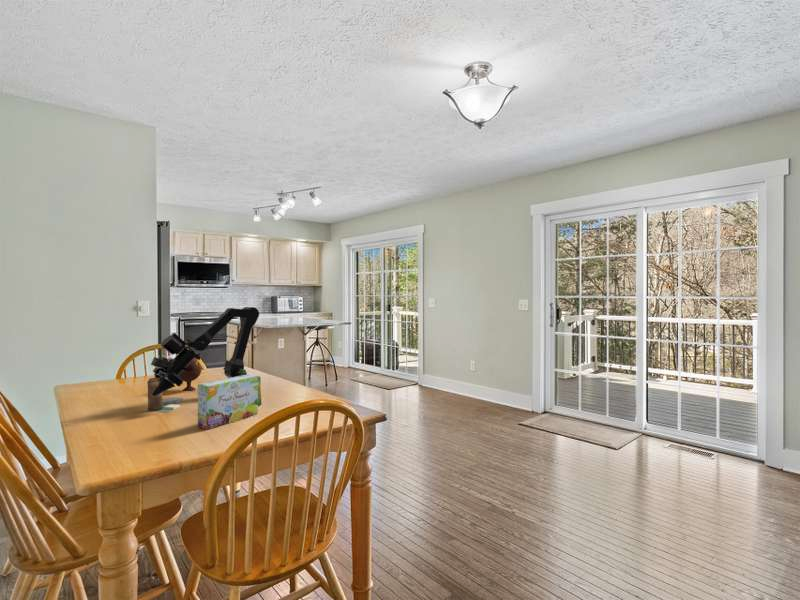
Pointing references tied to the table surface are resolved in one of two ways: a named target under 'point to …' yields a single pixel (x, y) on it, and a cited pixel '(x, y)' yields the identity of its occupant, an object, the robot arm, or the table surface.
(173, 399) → the trivet
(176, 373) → the robot arm
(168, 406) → the mat
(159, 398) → the pepper mill
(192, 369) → the ice cream bowl
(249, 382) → the snack box
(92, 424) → the table surface
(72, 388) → the table surface
